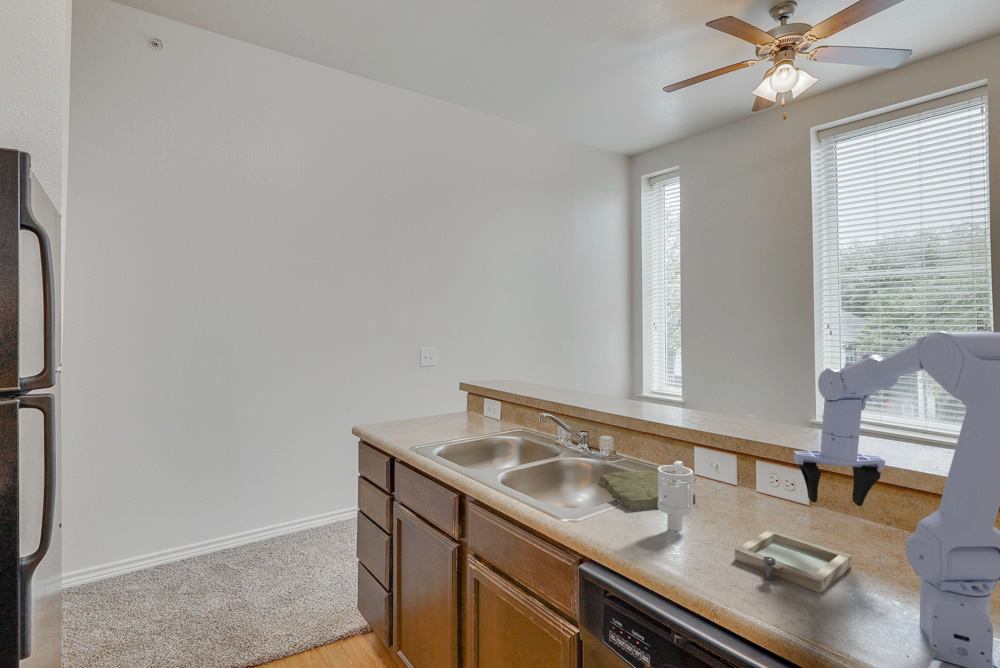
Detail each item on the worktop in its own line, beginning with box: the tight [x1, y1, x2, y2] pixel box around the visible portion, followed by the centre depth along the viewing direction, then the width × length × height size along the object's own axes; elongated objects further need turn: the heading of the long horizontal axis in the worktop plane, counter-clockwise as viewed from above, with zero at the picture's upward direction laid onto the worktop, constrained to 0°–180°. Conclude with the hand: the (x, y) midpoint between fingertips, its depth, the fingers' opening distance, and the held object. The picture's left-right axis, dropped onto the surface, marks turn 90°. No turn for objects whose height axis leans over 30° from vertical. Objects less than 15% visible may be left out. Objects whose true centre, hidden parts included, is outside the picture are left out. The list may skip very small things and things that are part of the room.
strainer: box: [657, 460, 694, 532], centre depth 104 cm, size 7×7×15 cm
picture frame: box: [734, 528, 853, 594], centre depth 88 cm, size 15×14×2 cm
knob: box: [763, 557, 776, 582], centre depth 83 cm, size 2×2×5 cm
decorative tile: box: [597, 470, 696, 512], centre depth 129 cm, size 19×20×4 cm
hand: (834, 501), depth 93 cm, fingers open, 7 cm apart
